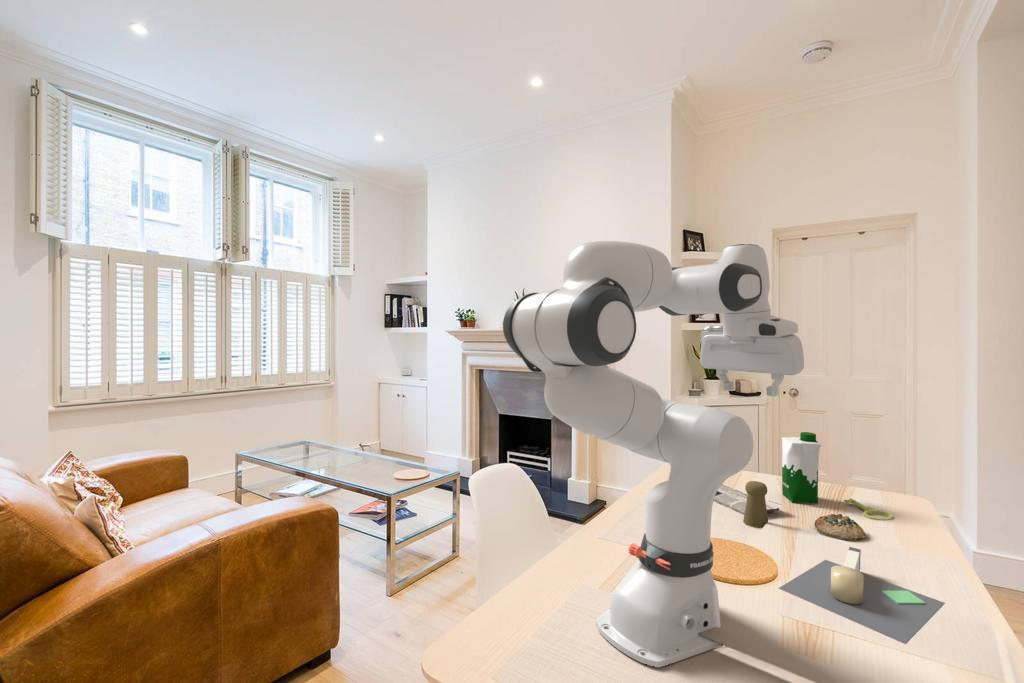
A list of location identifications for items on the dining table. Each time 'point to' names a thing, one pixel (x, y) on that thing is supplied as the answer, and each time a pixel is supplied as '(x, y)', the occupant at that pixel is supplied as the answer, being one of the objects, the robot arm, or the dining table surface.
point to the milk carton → (800, 468)
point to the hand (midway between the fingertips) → (749, 392)
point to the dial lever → (848, 579)
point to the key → (870, 511)
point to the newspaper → (740, 500)
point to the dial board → (868, 602)
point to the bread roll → (839, 527)
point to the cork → (755, 505)
